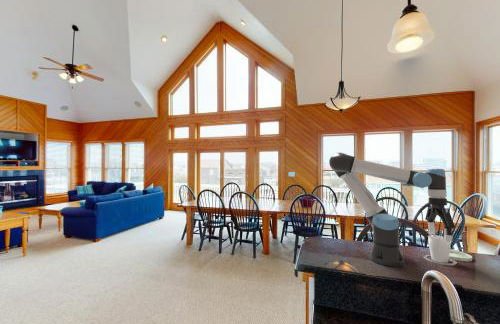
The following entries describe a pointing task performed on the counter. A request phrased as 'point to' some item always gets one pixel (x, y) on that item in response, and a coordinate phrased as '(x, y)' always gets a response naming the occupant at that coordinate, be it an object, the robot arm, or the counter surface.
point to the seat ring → (439, 262)
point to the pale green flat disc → (459, 256)
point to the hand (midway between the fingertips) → (439, 237)
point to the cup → (439, 248)
